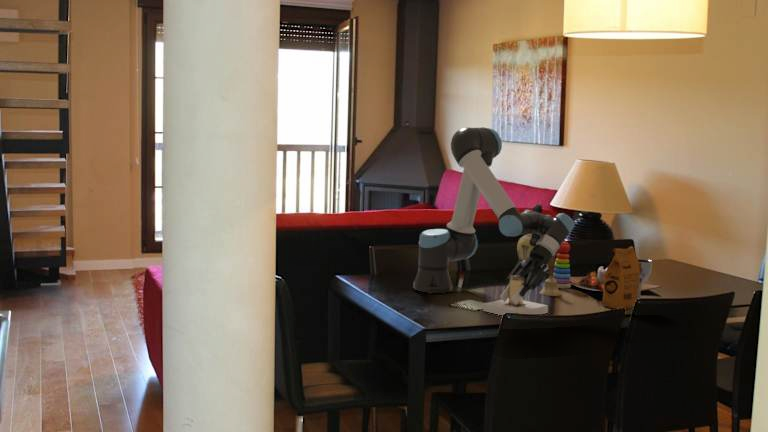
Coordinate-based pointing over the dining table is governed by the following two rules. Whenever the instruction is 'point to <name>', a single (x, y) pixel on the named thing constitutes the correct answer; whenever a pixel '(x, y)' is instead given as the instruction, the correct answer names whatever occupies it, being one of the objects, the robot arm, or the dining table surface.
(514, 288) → the beige cylinder
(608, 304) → the coffee package
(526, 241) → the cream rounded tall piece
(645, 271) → the wine glass
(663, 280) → the dining table surface
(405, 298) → the dining table surface
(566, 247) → the stacking toy
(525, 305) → the housing
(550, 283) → the hand bell
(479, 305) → the mat
